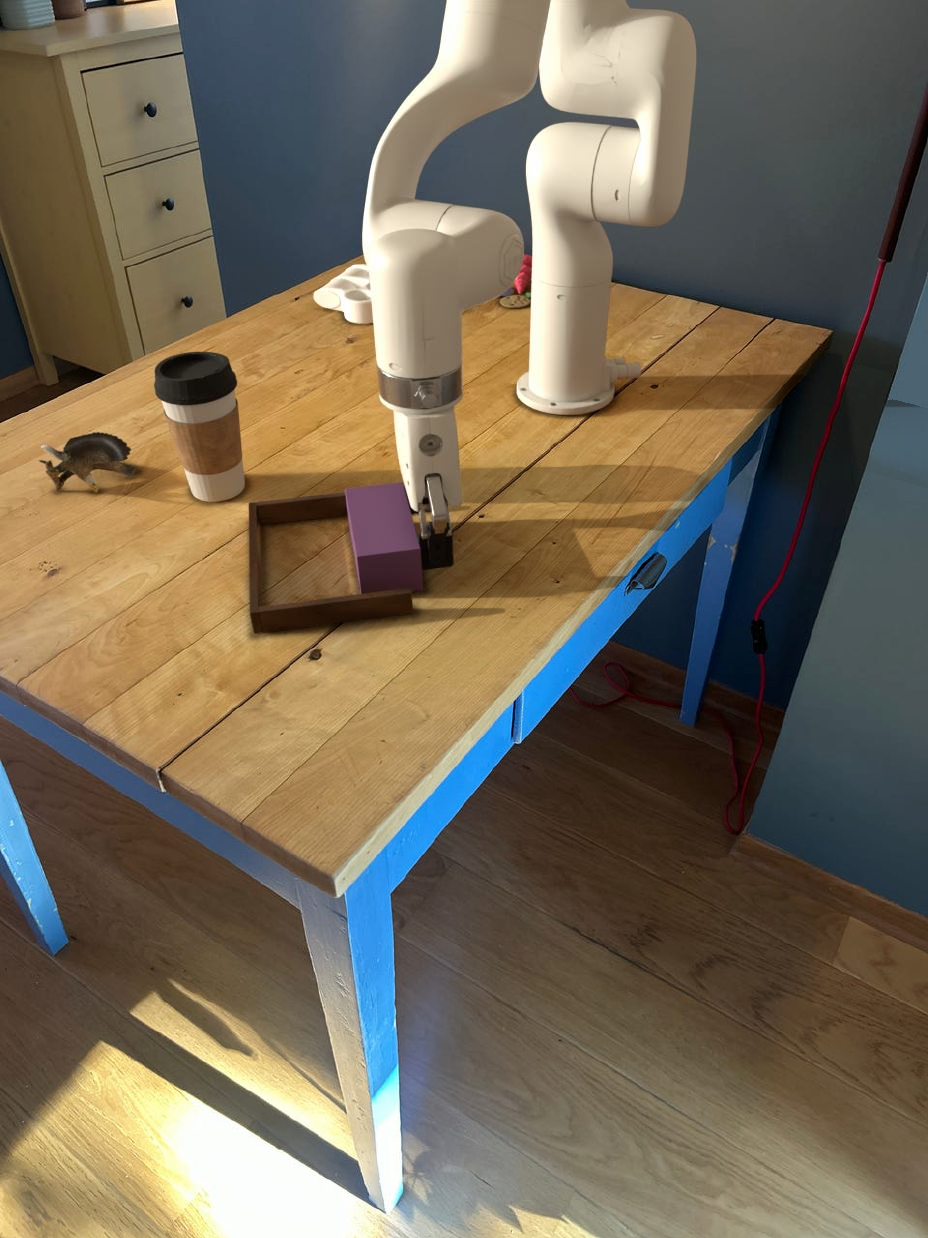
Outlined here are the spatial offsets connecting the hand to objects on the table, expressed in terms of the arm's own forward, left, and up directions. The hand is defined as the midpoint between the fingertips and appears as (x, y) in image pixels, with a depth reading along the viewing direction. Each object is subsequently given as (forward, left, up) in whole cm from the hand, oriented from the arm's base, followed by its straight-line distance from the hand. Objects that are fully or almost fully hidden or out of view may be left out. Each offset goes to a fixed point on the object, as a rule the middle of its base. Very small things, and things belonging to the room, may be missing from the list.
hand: (428, 538), depth 94 cm
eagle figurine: (+35, -21, -2) cm, 41 cm away
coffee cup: (+21, -17, -2) cm, 28 cm away
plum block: (+5, 0, -2) cm, 5 cm away
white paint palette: (-2, -68, -2) cm, 68 cm away
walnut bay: (+10, 0, -2) cm, 10 cm away
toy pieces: (-25, -66, -2) cm, 71 cm away
